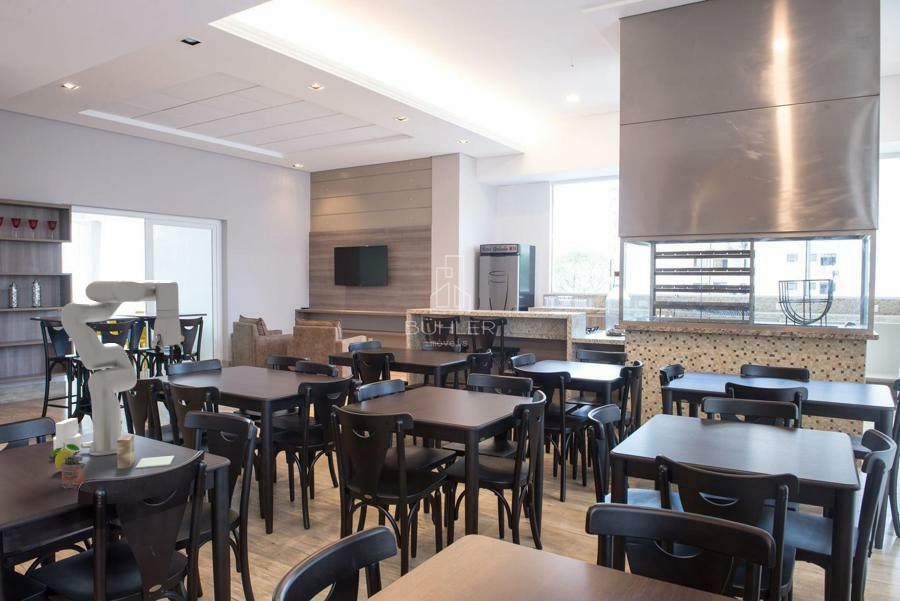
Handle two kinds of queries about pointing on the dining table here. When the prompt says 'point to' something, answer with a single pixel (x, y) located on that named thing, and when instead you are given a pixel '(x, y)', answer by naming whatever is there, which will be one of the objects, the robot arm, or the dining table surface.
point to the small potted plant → (72, 472)
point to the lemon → (63, 454)
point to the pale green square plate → (155, 462)
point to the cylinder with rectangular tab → (67, 434)
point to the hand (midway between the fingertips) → (168, 361)
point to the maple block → (125, 451)
